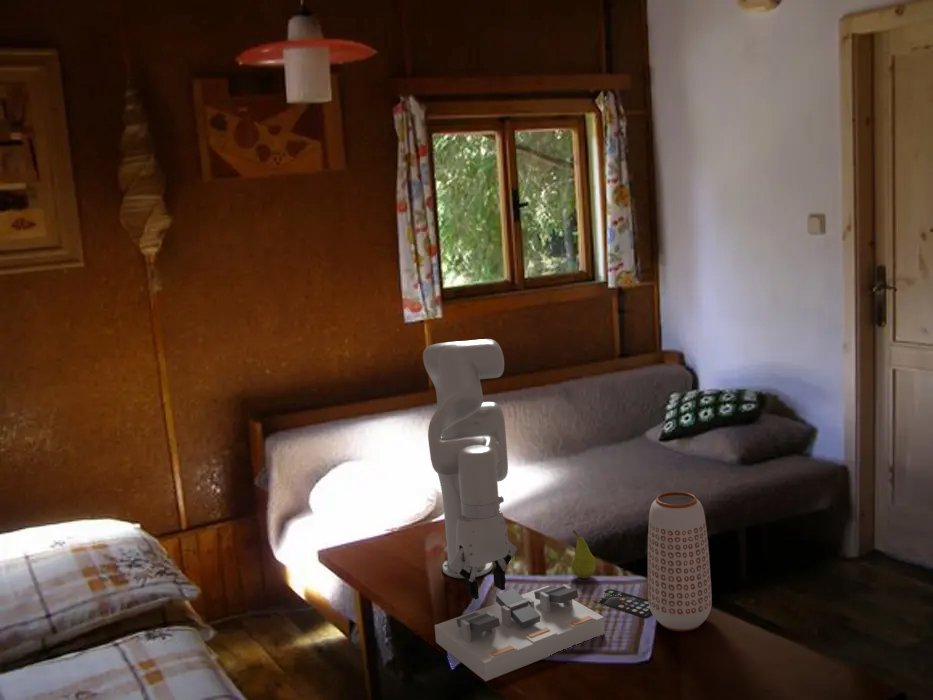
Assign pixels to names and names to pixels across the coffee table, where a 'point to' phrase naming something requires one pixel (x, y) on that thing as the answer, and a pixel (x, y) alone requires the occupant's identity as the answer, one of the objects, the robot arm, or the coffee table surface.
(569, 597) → the rocker
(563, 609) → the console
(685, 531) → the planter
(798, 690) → the coffee table surface
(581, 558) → the fruit
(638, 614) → the smartphone
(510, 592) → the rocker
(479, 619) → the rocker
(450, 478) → the robot arm
